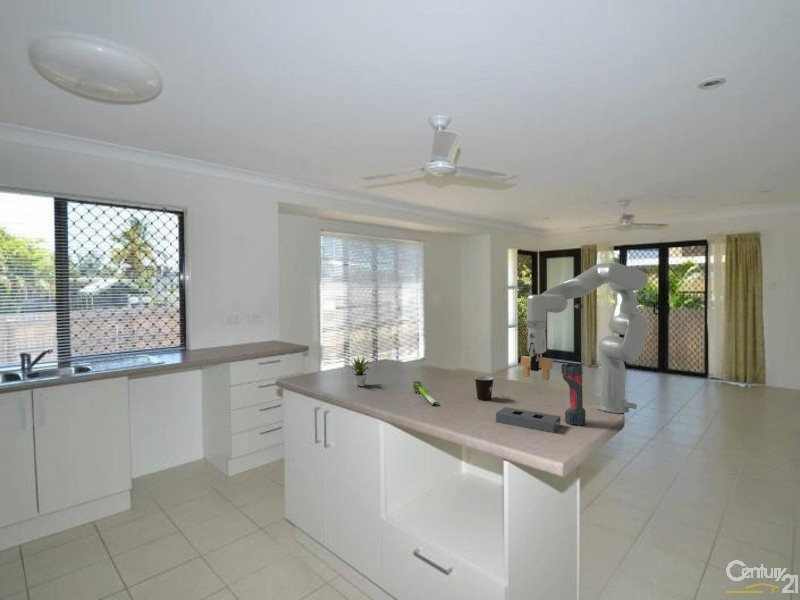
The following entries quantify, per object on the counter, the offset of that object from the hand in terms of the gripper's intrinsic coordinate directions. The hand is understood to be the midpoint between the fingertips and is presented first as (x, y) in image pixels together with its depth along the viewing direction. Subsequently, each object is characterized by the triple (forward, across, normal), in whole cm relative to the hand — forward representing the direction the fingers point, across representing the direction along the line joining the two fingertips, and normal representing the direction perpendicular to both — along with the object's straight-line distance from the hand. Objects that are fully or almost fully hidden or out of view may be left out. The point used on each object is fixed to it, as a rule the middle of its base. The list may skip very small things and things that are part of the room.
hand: (536, 369), depth 170 cm
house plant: (+20, -2, +94) cm, 96 cm away
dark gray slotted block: (+19, -10, 0) cm, 22 cm away
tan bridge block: (+3, 0, 0) cm, 3 cm away
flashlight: (+19, 0, -14) cm, 24 cm away
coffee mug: (+20, +14, +28) cm, 37 cm away
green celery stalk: (+20, 0, +53) cm, 57 cm away
